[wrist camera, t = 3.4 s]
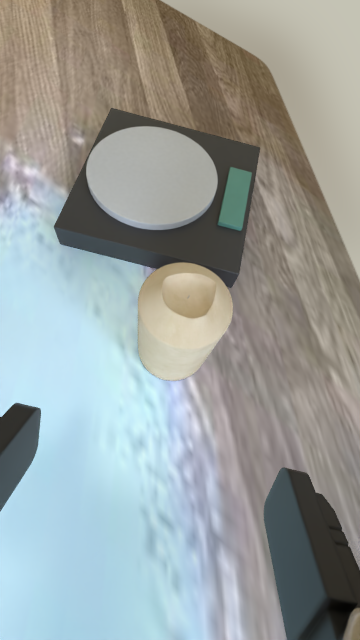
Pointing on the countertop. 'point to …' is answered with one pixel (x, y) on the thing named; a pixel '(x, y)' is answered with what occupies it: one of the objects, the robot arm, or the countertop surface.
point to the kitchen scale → (162, 196)
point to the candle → (181, 319)
